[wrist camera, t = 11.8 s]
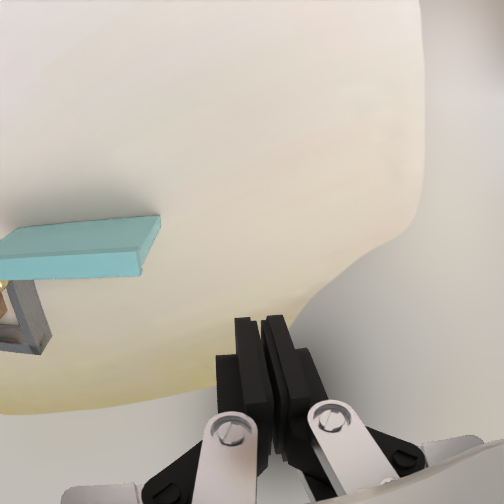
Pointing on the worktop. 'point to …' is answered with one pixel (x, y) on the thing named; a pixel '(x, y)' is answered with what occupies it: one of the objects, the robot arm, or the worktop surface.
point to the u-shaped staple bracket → (24, 320)
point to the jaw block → (2, 306)
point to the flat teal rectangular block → (78, 249)
